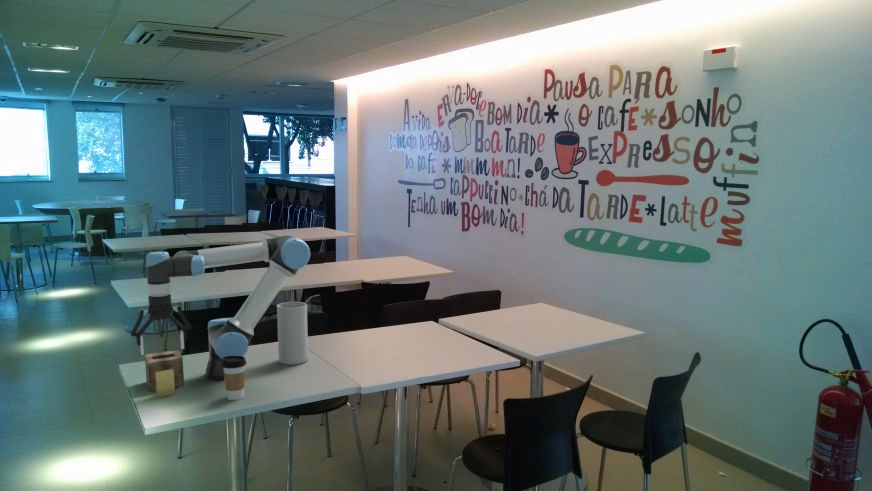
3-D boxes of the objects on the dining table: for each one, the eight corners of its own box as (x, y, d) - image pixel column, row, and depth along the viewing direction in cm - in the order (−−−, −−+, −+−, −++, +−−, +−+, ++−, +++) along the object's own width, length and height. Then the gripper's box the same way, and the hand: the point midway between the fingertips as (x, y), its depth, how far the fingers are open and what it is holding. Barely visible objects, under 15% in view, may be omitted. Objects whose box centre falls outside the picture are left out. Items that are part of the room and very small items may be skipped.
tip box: (179, 376, 244) (177, 350, 242) (184, 385, 233) (182, 358, 232) (146, 381, 237) (144, 354, 236) (150, 391, 227) (148, 363, 226)
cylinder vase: (314, 359, 265) (312, 304, 262) (293, 367, 255) (291, 309, 252) (293, 354, 272) (292, 300, 269) (272, 362, 262) (270, 305, 259)
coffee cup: (226, 393, 225) (224, 354, 223) (249, 392, 226) (248, 354, 224) (220, 402, 217) (218, 361, 215) (244, 401, 217) (243, 361, 216)
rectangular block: (173, 392, 226) (172, 369, 225) (175, 394, 224) (173, 371, 223) (156, 395, 223) (155, 371, 222) (157, 397, 221) (156, 374, 220)
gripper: (194, 289, 229) (197, 343, 231) (120, 296, 216) (124, 353, 219) (197, 292, 222) (200, 348, 225) (121, 299, 210) (125, 359, 212)
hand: (162, 351), depth 222 cm, fingers open, 13 cm apart
